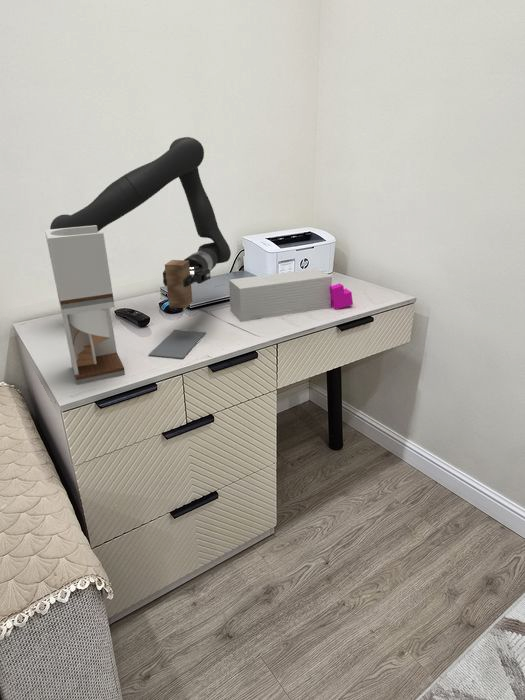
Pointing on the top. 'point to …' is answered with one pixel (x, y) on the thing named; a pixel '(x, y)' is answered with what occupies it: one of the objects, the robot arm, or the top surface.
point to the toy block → (340, 296)
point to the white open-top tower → (85, 301)
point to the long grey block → (279, 294)
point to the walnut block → (178, 283)
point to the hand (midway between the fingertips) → (175, 283)
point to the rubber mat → (177, 344)
